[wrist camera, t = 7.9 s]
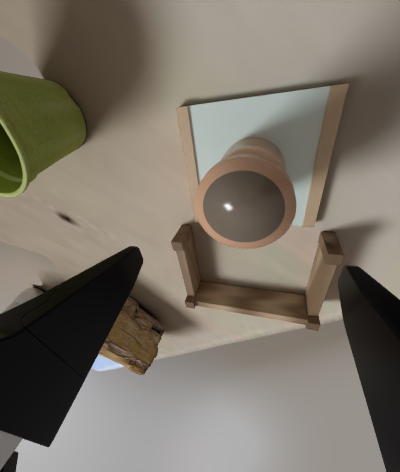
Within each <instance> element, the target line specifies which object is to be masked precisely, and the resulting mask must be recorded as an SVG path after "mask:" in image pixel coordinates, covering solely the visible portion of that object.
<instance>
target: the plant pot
mask: <svg viewBox="0 0 400 472" xmlns="http://www.w3.org/2000/svg"><path fill="white" fill-rule="evenodd" d="M85 138H86V125H85V120H84V117H83V114H82V112H81V110H80V108H79V107H78V106H77V105H76V104H75V102H74V101H73V100H72V99H71V97H70V96H69V94H68V93H67V91H66V90H65V89H64V88H63V87H61V86H60V85H58V84H57V83H55V82H52V81H50V80H45V79H39V78H34V77H28V76H22V75H17V74H12V73H7V72H1V71H0V196H6V197H14V196H17V195H19V194H21V193H23V192H24V191H25V190H26V189H27V187H28V185H29V183H30V182H31V181H33V180H34V179H35V178H36V176H37V174H38V173H40V172H42V171H43V170H45V169H46V168H48V167H49V166H51V165H52V164H54V163H55V162H57V161H58V160H60V159H62V158H63V157H65V156H66V155H68V154H70V153H71V152H73V151H75V150H76V149H78V148H79V147H80V146H81V145H82V144H83V142H84V141H85Z"/></svg>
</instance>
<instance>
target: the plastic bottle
mask: <svg viewBox="0 0 400 472" xmlns="http://www.w3.org/2000/svg"><path fill="white" fill-rule="evenodd" d="M42 293H44V292H43V291H41V290H39V289H37V288H34V287H32V288H28V289H26V290H24V291H23V292H21V293H20V294H19V295H18V296H17V297H16V298H15V299H14V301H13V302H12V303H11V304H10V305H9V306H8V307H7V308H6V309H5V310H4V311H3V312H2V313H4V312H6V311H8V310H10V309H12V308H14V307H16V306H18V305H20V304H22V303H24V302H26V301H28V300H30V299H32V298H35V297H37V296H39V295H40V294H42Z"/></svg>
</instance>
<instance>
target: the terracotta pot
mask: <svg viewBox="0 0 400 472" xmlns="http://www.w3.org/2000/svg"><path fill="white" fill-rule="evenodd" d="M194 207H195V213H196V216H197V219H198V221H199V223H200V224H201V226H202V227H203V229H204V230H205V231H206V232H207V233H208V234H209V235H210V236H211V237H213V238H214V239H215V240H217V241H219V242H220V243H223V244H225V245H228V246H231V247H235V248H242V249H251V248H258V247H262V246H266V245H268V244H270V243H272V242H274V241H276V240H277V239H279V238H280V237H281V236H282V235H284V234H285V233H286V231H287V230H288V229H289V228H290V226H291V224H292V222H293V220H294V218H295V214H296V207H297V204H296V196H295V191H294V187H293V184H292V181H291V179H290V178H289V176H288V174H287V173H286V168H285V162H284V158H283V155H282V153H281V151H280V150H279V149H278V147H277V146H276V145H274V144H273V143H272V142H270V141H268V140H266V139H263V138H258V137H250V138H245V139H242V140H240V141H238V142H236V143H234V144H233V145H232V146H231V147H230V148H229V149H228V150H227V151H226V153H225V154H224V156H223V157H222V159H221V160H220V162H218V163H217V164H215V165H214V166H213V167H212V168H211V169H210V170H209V171H208V172H207V173H206V175H205V176H204V178H203V179H202V180H201V182H200V184H199V185H198V187H197V190H196V193H195V199H194Z"/></svg>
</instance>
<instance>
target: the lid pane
mask: <svg viewBox="0 0 400 472" xmlns="http://www.w3.org/2000/svg"><path fill="white" fill-rule="evenodd" d="M348 86H349V84H346V83H345V84H338V85H331V86H324V87H317V88H310V89H303V90H296V91H289V92H282V93H274V94H267V95H260V96H253V97H246V98H239V99H232V100H225V101H218V102H211V103H203V104H196V105H189V106H182V107H177V108H176V113H177V119H178V125H179V130H180V136H181V142H182V148H183V154H184V160H185V166H186V172H187V178H188V184H189V190H190V195H191V201H192V207H193V213H194V219H195V222H199V221H198V219H197V216H196V213H195V207H194V199H195V193H196V190H197V187H198V185H199V184H200V182H201V180H202V179H203V178H204V176H205V175H206V173H207V172H208V171H209V170H210V169H211V168H212V167H213V166H214V165H215V164H217V163H218V162H220V160H221V159H222V157H223V156H224V154H225V153H226V151H227V150H228V149H229V148H230V147H231V146H232V145H233V144H234V143H236V142H238V141H240V140H242V139H245V138H250V137H258V138H263V139H266V140H268V141H270V142H272V143H273V144H274V145H276V146H277V147H278V149H279V150H280V151H281V153H282V155H283V158H284V162H285V168H286V173H287V174H288V176H289V178H290V179H291V181H292V184H293V187H294V191H295V196H296V204H297V207H296V214H295V218H294V220H293V222H292V224H291V225H294V226H302V227H314V226H315V222H316V218H317V214H318V209H319V205H320V201H321V197H322V193H323V189H324V185H325V181H326V176H327V172H328V168H329V164H330V160H331V156H332V152H333V148H334V143H335V139H336V135H337V131H338V127H339V123H340V119H341V115H342V110H343V106H344V102H345V98H346V94H347V90H348Z"/></svg>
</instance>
